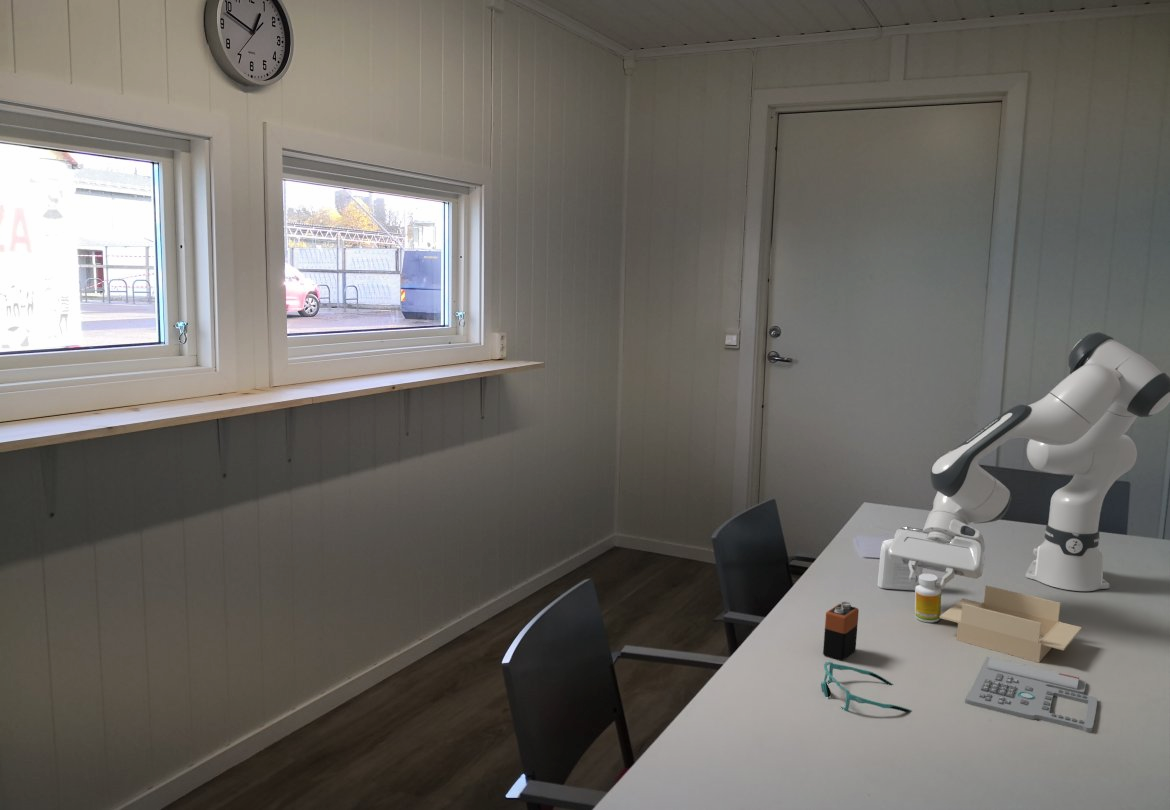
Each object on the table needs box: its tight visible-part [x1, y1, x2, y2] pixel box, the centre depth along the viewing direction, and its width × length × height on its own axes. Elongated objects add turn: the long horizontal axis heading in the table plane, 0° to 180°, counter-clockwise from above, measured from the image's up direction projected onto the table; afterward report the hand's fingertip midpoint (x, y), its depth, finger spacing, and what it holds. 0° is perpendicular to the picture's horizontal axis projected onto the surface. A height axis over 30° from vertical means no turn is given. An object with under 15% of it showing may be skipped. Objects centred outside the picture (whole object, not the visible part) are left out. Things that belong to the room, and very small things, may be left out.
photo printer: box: [877, 538, 924, 591], centre depth 222 cm, size 10×4×12 cm, turn 86°
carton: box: [940, 585, 1083, 663], centre depth 191 cm, size 16×24×8 cm, turn 50°
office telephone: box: [964, 656, 1098, 734], centre depth 167 cm, size 23×3×20 cm
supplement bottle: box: [914, 573, 942, 623], centre depth 201 cm, size 5×5×10 cm
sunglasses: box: [820, 661, 913, 713], centre depth 164 cm, size 14×15×5 cm
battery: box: [822, 601, 860, 661], centre depth 182 cm, size 4×7×10 cm, turn 142°
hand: (925, 584), depth 200 cm, fingers open, 4 cm apart
